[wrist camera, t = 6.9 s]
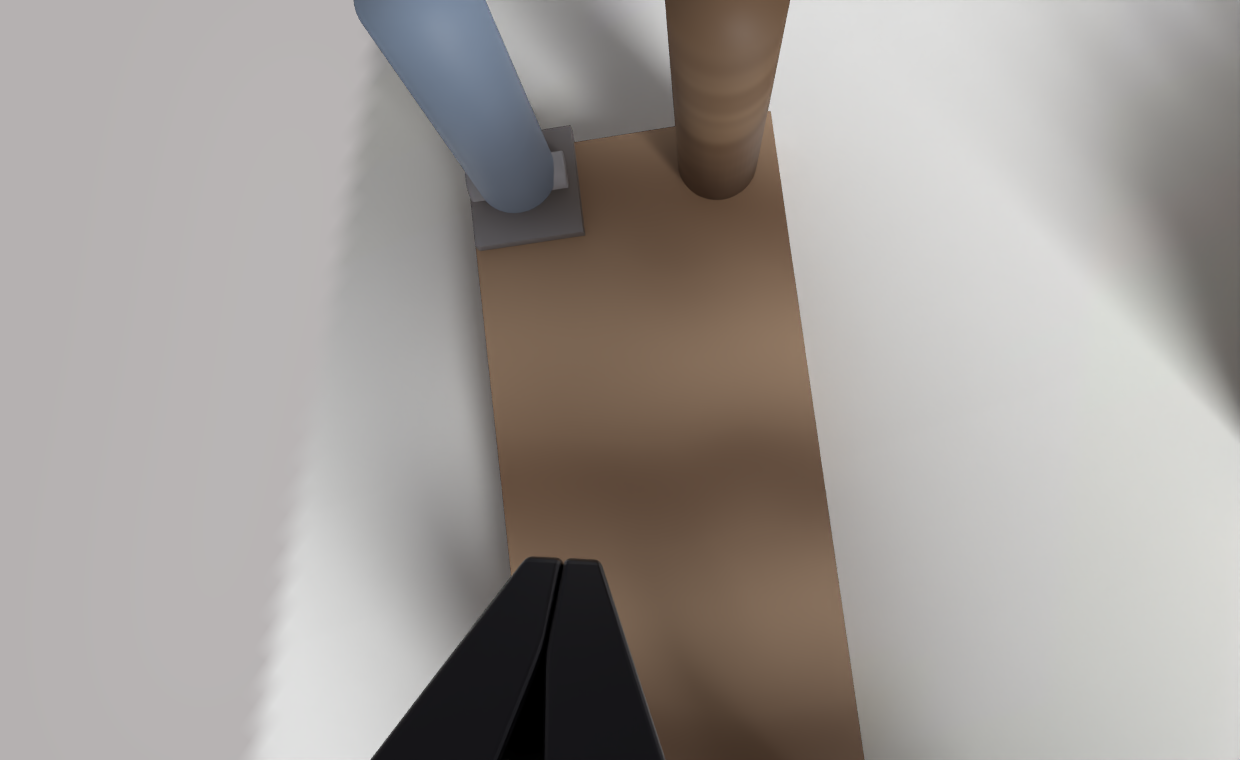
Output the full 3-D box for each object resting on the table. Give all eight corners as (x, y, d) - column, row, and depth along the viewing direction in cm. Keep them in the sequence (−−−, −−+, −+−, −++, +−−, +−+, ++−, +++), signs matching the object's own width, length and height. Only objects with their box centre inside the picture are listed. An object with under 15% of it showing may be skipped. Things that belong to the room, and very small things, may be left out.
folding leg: (571, 214, 20) (489, 30, 13) (479, 228, 20) (344, 56, 13) (564, 140, 20) (479, -79, 13) (473, 155, 21) (339, -53, 13)
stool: (866, 855, 21) (1010, 1211, 11) (562, 878, 21) (450, 1231, 12) (762, 130, 22) (809, -103, 13) (485, 173, 23) (333, -17, 13)
